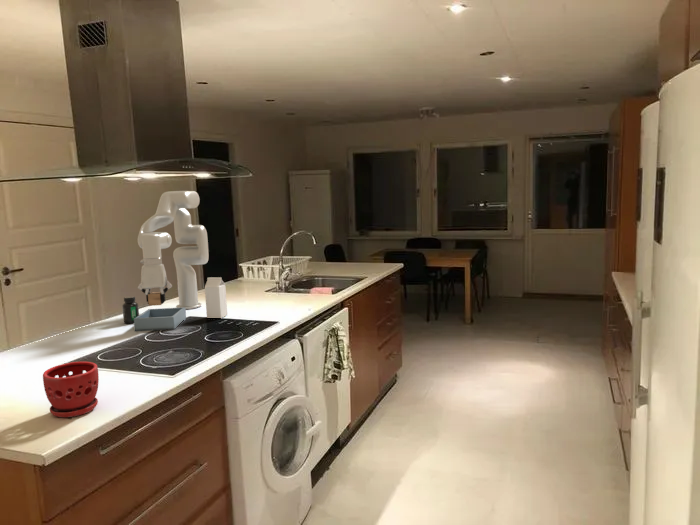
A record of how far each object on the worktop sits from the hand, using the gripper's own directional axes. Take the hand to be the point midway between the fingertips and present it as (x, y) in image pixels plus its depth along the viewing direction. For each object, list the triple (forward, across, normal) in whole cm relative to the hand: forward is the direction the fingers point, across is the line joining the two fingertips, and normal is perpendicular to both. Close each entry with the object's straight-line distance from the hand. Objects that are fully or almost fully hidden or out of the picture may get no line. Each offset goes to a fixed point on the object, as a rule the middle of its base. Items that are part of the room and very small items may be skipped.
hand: (156, 302), depth 237 cm
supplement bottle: (+11, -16, +13) cm, 23 cm away
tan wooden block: (+1, 0, 0) cm, 1 cm away
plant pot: (+12, +6, -94) cm, 95 cm away
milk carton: (+11, +23, +15) cm, 30 cm away
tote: (+11, 0, +5) cm, 12 cm away
